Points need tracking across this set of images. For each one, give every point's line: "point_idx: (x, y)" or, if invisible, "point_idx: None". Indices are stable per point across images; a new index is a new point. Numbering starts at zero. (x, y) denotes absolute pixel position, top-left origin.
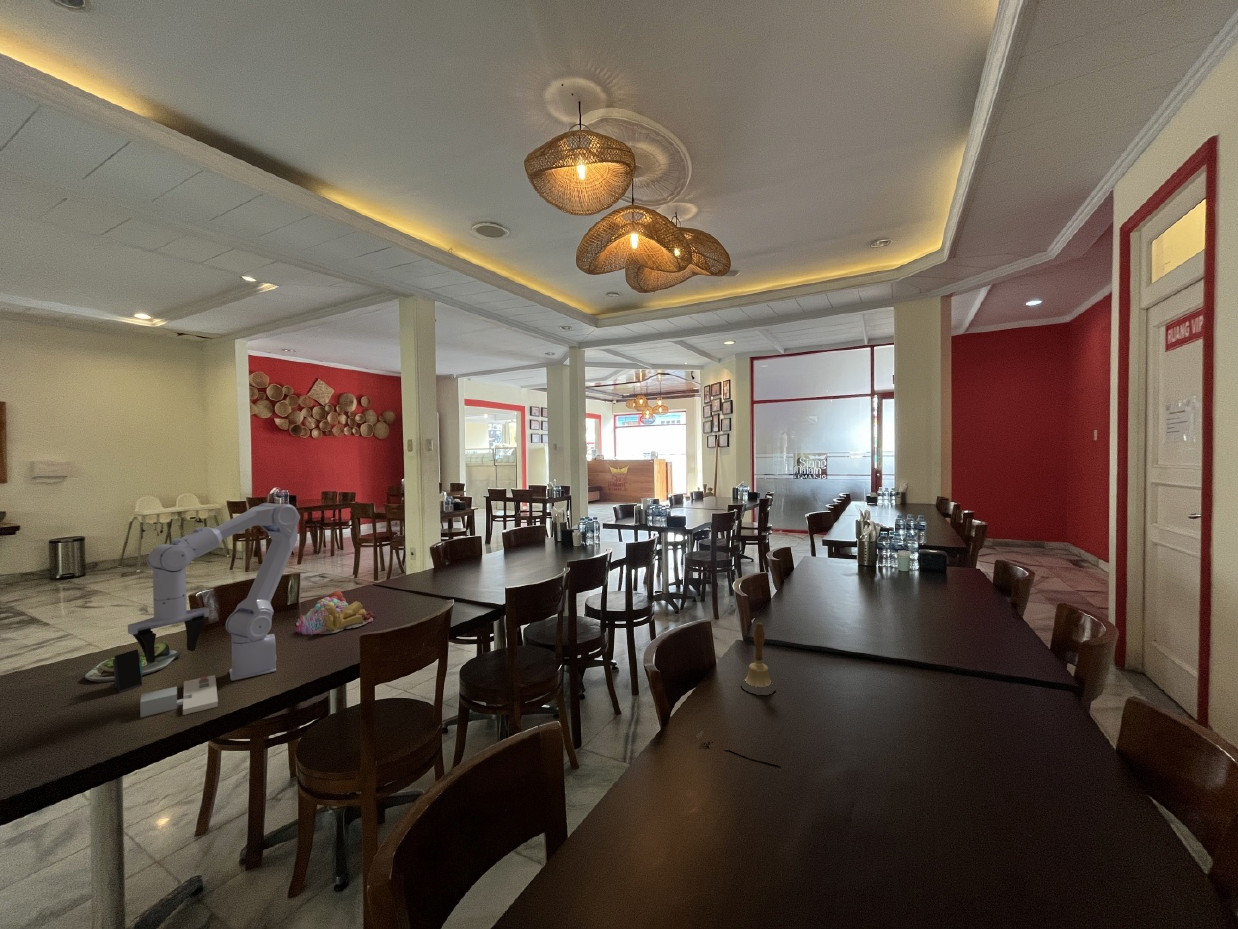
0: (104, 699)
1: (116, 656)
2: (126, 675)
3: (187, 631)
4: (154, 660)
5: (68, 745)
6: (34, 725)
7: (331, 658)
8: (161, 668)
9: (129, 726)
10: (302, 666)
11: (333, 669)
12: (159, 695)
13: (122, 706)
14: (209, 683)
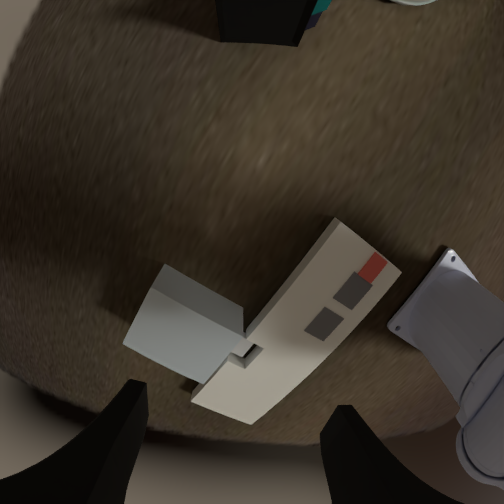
0: (169, 52)
1: None
2: (253, 11)
3: (375, 496)
4: (146, 423)
5: (23, 297)
6: (21, 94)
7: None
8: (403, 4)
9: (106, 335)
10: None
11: (431, 423)
12: (173, 351)
13: (151, 179)
14: (341, 323)
